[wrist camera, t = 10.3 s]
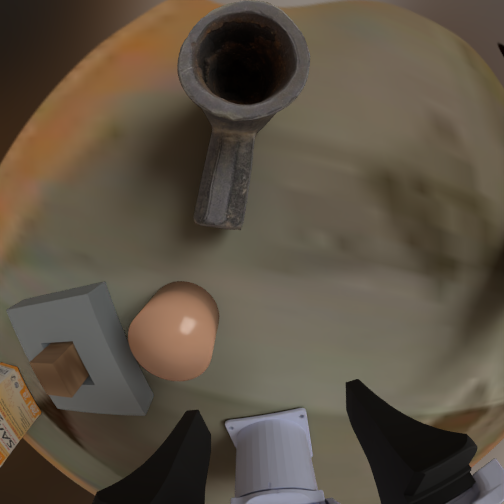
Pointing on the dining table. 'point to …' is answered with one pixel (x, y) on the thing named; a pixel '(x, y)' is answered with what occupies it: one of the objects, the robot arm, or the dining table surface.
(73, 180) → the dining table surface
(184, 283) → the peach egg-shaped blob
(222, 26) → the pipe
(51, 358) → the square peg
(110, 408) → the block
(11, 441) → the supplement box
